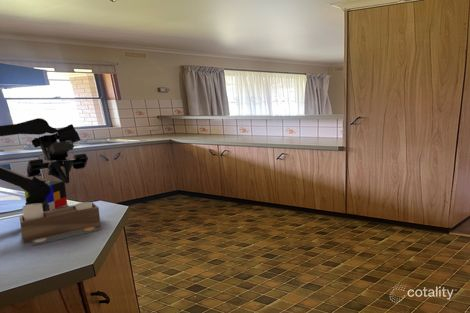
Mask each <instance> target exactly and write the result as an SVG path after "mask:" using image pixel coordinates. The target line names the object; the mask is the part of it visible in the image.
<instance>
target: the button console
mask: <svg viewBox="0 0 470 313" xmlns="http://www.w3.org/2000/svg"><path fill="white" fill-rule="evenodd" d="M91 203H92V207H93V208H88V209H83V210H78V211H76V208H75V205H71V206H66V207H59V208H56V209H54V210H49V211H44V212H43V215H44V217H42V218H37V219H32V220H27V221H24V214H23V215H19V216H18V217H19V224H20V230H21V231H20V232H21V236H22V242H23V244H25V243H30V242H31V243H32V240H35V239H39V238H43V237H48V236H52V235H56V234H61V233H65V232H70V231H74V230H78V229H83V228H87V227H91V226H95V227H96V228H97V227H99V226H101V216H100V207H98V206H97V205H96V204H95V203H94V202H91Z"/></svg>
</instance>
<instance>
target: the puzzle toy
mask: <svg viewBox="0 0 470 313" xmlns="http://www.w3.org/2000/svg"><path fill="white" fill-rule="evenodd" d="M46 181H47V182H48V183H49V184H50V194H49V195H48V196H46V197H45V200H47V201H48V204H49V209H50V210H53V209H54V210H55V209H60V208H63V207H64V206H67V205H68V200H67V199H68V198H67V192H66V183H65V182H63V181H62V180H60V181H59V180H58V181H57V180H56V181H55V180H54V181H53V180H52V181H49V180H46ZM24 195H25V196H24V197H25V199H26V197H27V195H28V192H26V191H25V190H24Z"/></svg>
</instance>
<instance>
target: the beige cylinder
mask: <svg viewBox="0 0 470 313" xmlns="http://www.w3.org/2000/svg"><path fill="white" fill-rule="evenodd" d="M92 203H93V202H92V201H91V202H89V201H86V202H80V203H77V204H75V205H74V206H75V208H76V211H78V210H83V209H88V208H93V207H92Z"/></svg>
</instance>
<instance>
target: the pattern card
mask: <svg viewBox="0 0 470 313" xmlns="http://www.w3.org/2000/svg"><path fill="white" fill-rule="evenodd" d="M97 231H98V228H97V226H96V227H95V226H91V227H87V228H83V229H78V230H74V231H70V232H65V233H61V234H56V235H52V236H48V237H43V238H39V239H35V240H32V241H31V243H32V247H35V246H38V245H42V244H47V243H52V242H54V241H59V240H64V239H67V238H68V239H69V238H72V237H77V236H81V235H84V234H89V233H93V232H97Z"/></svg>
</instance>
